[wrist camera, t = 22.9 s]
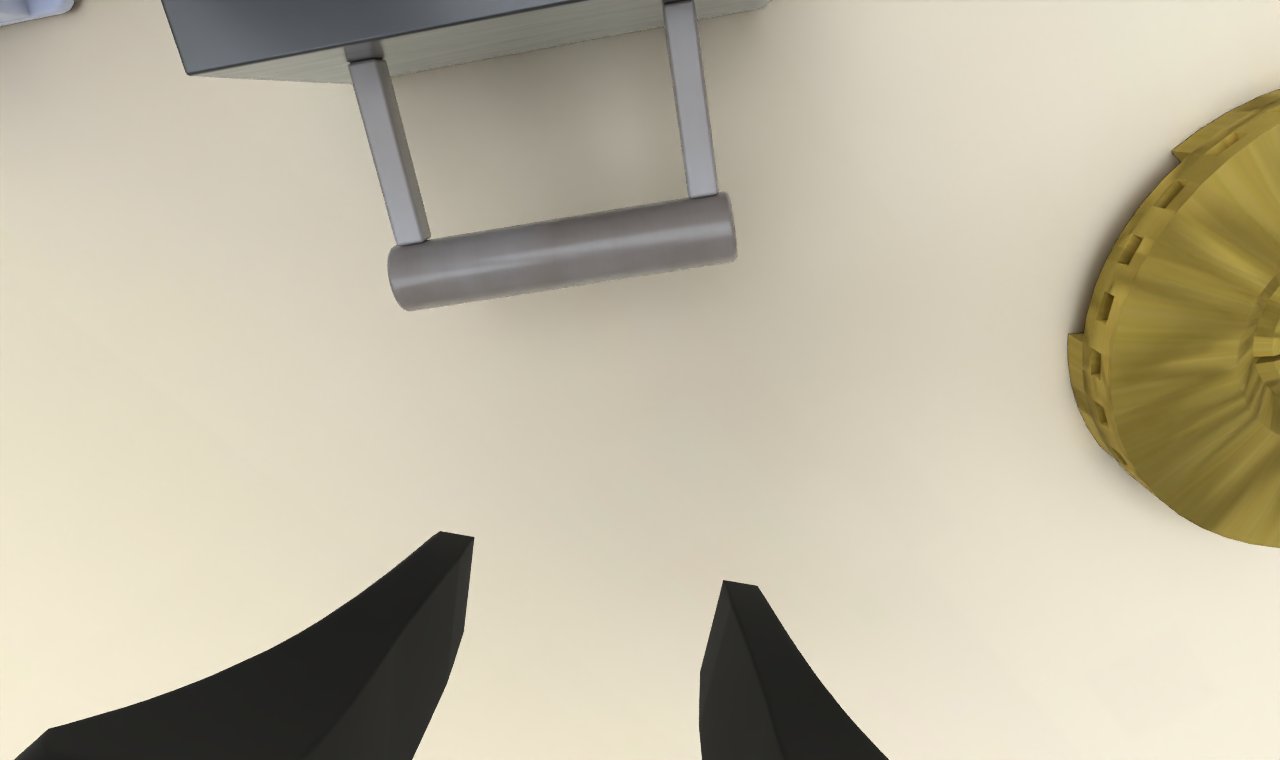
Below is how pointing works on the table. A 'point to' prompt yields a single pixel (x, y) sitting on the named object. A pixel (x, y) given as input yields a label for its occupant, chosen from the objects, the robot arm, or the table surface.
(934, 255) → the table surface
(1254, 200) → the gold round disc
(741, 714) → the robot arm
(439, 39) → the drawer
